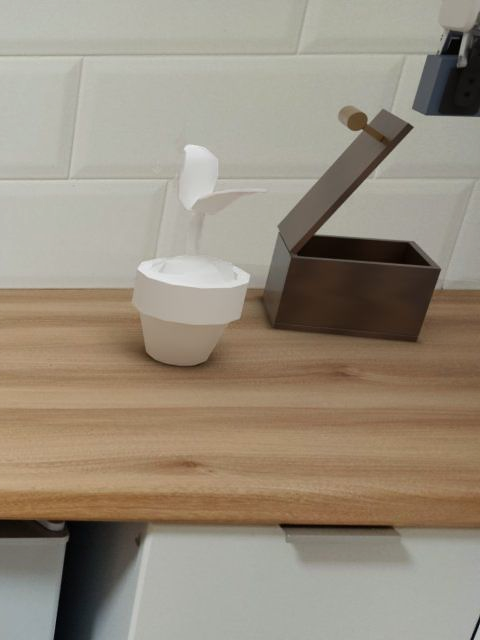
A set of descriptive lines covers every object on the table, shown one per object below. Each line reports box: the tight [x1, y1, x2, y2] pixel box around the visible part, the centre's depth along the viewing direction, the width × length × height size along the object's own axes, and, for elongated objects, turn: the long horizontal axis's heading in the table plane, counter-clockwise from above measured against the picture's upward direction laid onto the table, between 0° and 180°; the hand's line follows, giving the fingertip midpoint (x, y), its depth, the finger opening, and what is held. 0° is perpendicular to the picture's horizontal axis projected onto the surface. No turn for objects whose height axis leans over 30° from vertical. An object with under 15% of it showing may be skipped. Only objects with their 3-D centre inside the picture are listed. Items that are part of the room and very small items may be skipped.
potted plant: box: [131, 123, 269, 367], centre depth 93 cm, size 13×12×25 cm
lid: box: [276, 104, 415, 255], centre depth 104 cm, size 17×13×5 cm
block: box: [411, 53, 480, 118], centre depth 86 cm, size 5×5×5 cm
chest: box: [262, 231, 442, 343], centre depth 109 cm, size 16×13×9 cm
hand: (448, 108), depth 87 cm, fingers closed on block, 5 cm apart
